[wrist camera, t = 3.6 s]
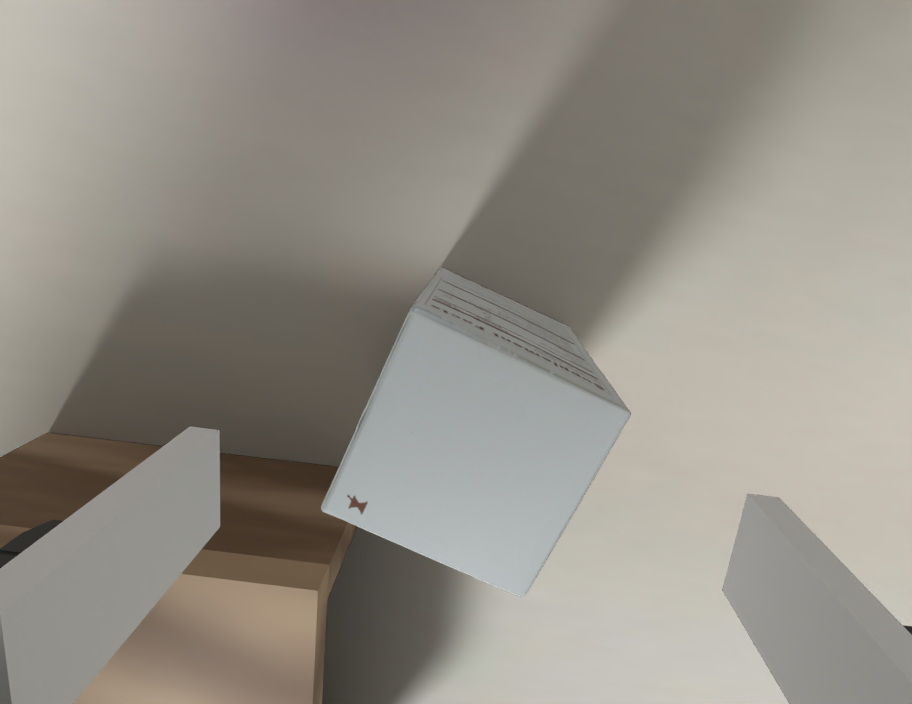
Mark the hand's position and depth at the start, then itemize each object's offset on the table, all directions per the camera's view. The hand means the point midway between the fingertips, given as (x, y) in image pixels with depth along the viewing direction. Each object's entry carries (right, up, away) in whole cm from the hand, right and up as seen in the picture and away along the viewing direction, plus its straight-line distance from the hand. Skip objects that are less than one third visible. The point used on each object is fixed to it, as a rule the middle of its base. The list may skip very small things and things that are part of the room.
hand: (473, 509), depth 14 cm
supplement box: (+1, +4, +15) cm, 16 cm away
